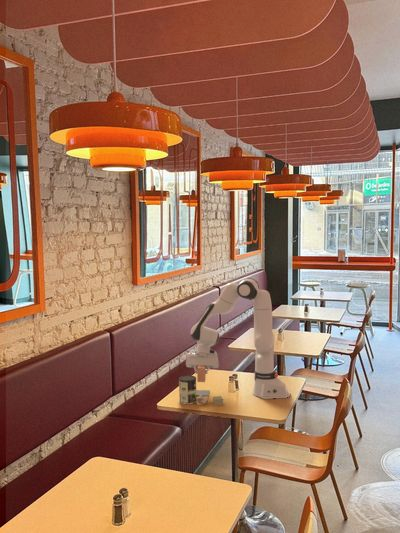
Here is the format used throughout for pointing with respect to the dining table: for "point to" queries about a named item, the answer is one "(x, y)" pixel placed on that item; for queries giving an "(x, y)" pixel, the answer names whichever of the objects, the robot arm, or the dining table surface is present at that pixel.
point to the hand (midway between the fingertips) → (201, 373)
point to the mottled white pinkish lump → (202, 400)
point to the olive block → (218, 400)
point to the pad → (202, 392)
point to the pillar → (201, 374)
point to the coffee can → (187, 389)
